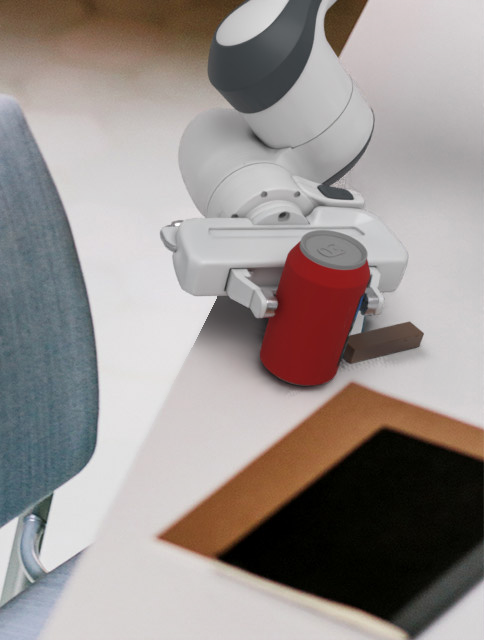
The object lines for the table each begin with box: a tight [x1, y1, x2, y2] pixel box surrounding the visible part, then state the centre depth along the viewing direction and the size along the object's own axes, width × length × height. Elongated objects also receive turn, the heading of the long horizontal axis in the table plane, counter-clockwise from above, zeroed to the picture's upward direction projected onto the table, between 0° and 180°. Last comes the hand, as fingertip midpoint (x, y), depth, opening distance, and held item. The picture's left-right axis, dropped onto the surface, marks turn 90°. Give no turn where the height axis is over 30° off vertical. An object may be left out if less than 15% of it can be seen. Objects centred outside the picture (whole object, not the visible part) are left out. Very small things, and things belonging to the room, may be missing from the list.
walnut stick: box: [342, 321, 425, 364], centre depth 105 cm, size 8×2×2 cm, turn 117°
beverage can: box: [259, 230, 370, 387], centre depth 98 cm, size 7×7×12 cm
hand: (321, 309), depth 97 cm, fingers open, 8 cm apart
